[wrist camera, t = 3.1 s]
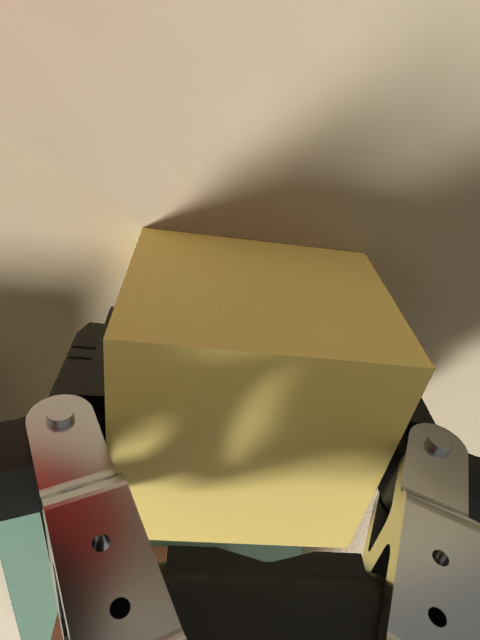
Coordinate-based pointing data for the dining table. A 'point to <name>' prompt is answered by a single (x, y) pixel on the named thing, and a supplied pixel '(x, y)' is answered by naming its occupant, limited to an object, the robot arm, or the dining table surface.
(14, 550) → the build plate
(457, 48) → the dining table surface
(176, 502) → the mustard brick
